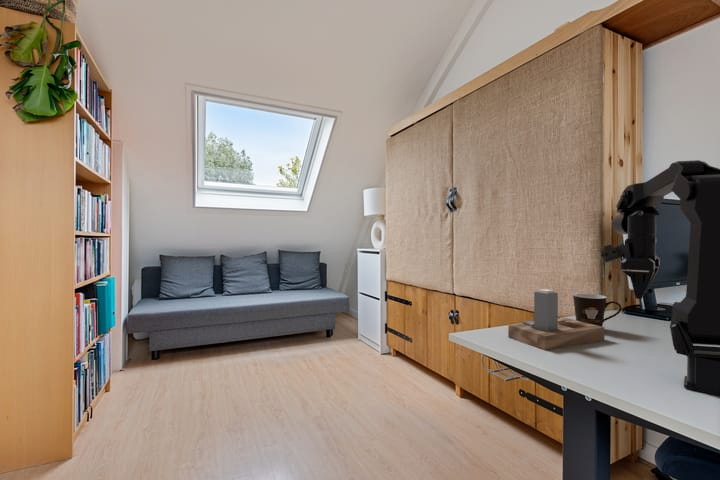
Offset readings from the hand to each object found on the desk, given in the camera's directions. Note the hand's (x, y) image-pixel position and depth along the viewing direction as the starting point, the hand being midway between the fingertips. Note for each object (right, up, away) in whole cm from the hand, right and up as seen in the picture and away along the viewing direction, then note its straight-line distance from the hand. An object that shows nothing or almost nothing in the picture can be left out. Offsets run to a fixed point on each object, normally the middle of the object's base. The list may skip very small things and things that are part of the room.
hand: (640, 296), depth 92 cm
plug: (-21, -13, +5) cm, 25 cm away
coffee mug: (-1, -13, +17) cm, 21 cm away
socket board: (-17, -13, +8) cm, 23 cm away
